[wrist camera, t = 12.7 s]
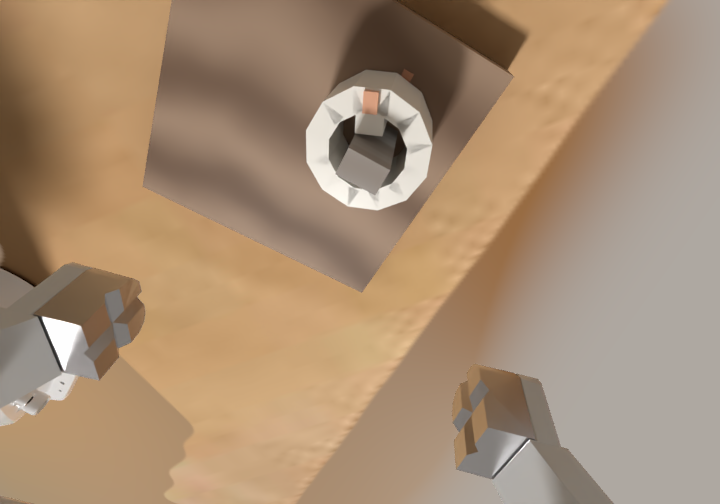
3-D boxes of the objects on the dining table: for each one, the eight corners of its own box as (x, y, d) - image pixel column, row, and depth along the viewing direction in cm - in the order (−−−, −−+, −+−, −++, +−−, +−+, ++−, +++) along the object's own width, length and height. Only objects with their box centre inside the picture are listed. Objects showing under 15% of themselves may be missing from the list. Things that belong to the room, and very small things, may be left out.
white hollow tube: (421, 184, 24) (419, 218, 21) (323, 172, 25) (305, 203, 21) (440, 77, 21) (441, 97, 17) (324, 65, 21) (303, 82, 18)
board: (365, 277, 32) (349, 351, 25) (158, 175, 29) (81, 229, 23) (507, 69, 22) (541, 104, 15) (211, -116, 19) (99, -170, 13)
